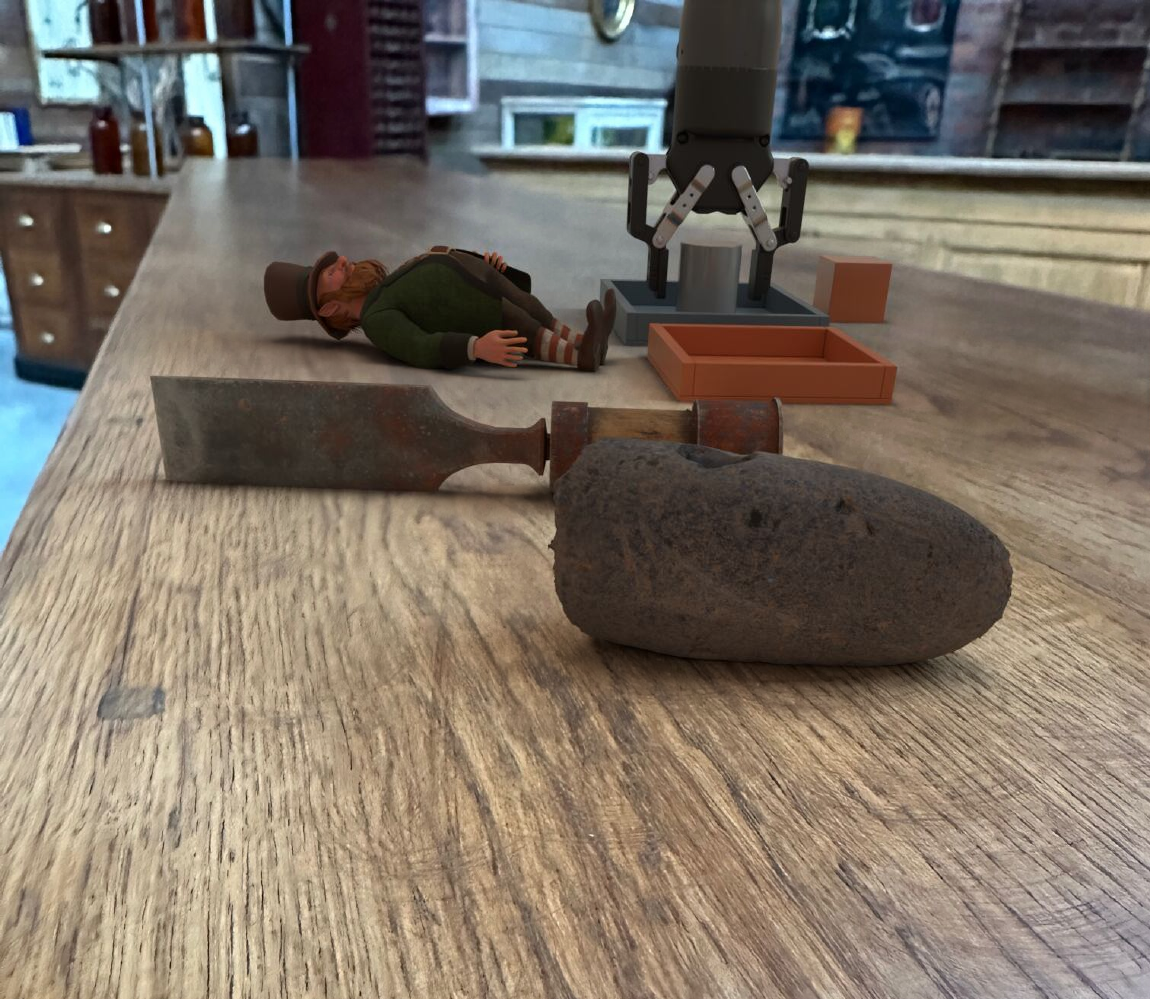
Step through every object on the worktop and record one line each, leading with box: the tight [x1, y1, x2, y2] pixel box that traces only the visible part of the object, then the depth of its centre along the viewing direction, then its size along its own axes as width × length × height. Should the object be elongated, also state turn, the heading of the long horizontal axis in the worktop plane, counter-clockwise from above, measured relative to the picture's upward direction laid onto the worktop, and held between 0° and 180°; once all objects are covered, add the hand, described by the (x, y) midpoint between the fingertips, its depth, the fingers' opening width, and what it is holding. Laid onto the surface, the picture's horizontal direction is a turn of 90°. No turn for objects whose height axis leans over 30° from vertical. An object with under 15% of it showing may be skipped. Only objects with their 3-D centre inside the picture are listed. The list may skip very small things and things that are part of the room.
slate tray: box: [599, 278, 831, 347], centre depth 93 cm, size 16×18×3 cm
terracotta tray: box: [646, 323, 898, 405], centre depth 76 cm, size 14×14×3 cm
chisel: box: [149, 374, 785, 493], centre depth 52 cm, size 28×5×5 cm, turn 89°
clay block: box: [812, 254, 893, 324], centre depth 99 cm, size 5×5×5 cm
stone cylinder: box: [675, 238, 743, 313], centre depth 92 cm, size 5×5×6 cm
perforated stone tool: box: [547, 437, 1014, 667], centre depth 37 cm, size 15×5×7 cm, turn 81°
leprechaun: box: [263, 245, 616, 373], centre depth 79 cm, size 11×10×25 cm
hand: (707, 298), depth 92 cm, fingers open, 7 cm apart
